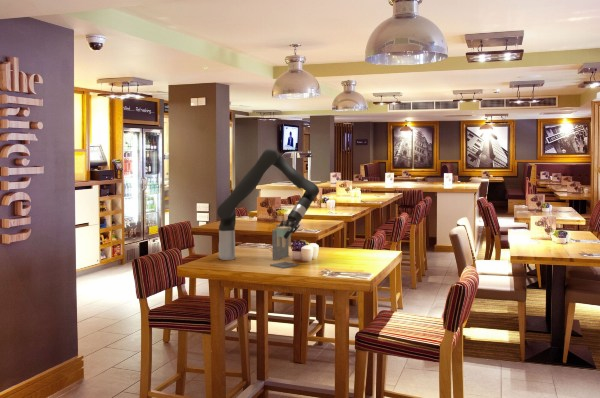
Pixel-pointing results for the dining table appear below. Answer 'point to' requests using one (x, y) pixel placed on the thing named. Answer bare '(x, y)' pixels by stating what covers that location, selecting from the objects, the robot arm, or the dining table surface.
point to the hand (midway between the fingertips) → (281, 237)
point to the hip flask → (279, 247)
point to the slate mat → (284, 265)
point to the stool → (280, 233)
